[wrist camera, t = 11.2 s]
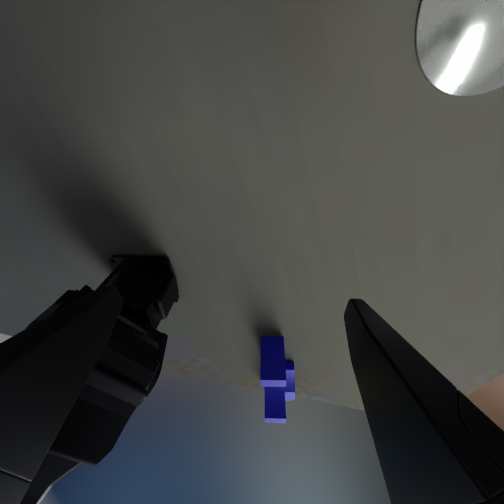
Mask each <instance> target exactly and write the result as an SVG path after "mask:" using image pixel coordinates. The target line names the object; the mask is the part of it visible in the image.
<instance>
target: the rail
mask: <svg viewBox="0 0 504 504" xmlns="http://www.w3.org/2000/svg"><path fill="white" fill-rule="evenodd" d="M415 45H416V54H417V59H418V62H419V66H420V68H421V70H422V73H423V74H424V76H425V77H426V79H427V80H428V82H429V83H430V84H431V85H433V86H434V87H435V88H437V89H438V90H440V91H442V92H444V93H447V94H450V95H455V96H470V95H478V94H482V93H486V92H489V91H492V90H494V89H497V88H499V87H501V86H503V85H504V0H421V3H420V7H419V12H418V16H417V23H416V32H415Z"/></svg>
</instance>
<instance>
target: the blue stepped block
mask: <svg viewBox="0 0 504 504" xmlns="http://www.w3.org/2000/svg"><path fill="white" fill-rule="evenodd" d="M260 381H261V386H263V387H265V422H266V423H286V410H285V400H292V401H294V399H295V383H294V361H285V353H284V338H283V337H261V374H260Z"/></svg>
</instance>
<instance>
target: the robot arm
mask: <svg viewBox="0 0 504 504" xmlns="http://www.w3.org/2000/svg"><path fill="white" fill-rule="evenodd" d="M113 259H114V260H113ZM108 260H109V263H110V265H111V267H112V269H113V272H112V273H111V274H110V275H109V276H108V277H107V278H106V279H105V280H104V281H103V282H102V284H101V285H100V286H99V287H98V288H97V289H96V290H95V291H93V290H92V289H91V288H90V287H89V286H87V285H85V286H84V287H83V288H82V289H81V290H80V291H79V290H76V291H73V290H68V291H66V292H65V293H64V294H63V295H62V296H61V297H60V298H59V299H58V300H57V301H56V302H55V303H54V304H53V305H51V306H50V307H49V308H48V309H47V310H46V311H44V312H43V313H42V314H41V315H40V316H38V317H37V318H36V319H35V320H34V321H33V322H32V323H30V324H29V325H28V326H27V327H26V328H25V330H23V331H22V332H20V333H18V334H16V335H15V336H13V337H11V338H9V339H7V340H6V341H4V342H2V343H0V504H40V502H41V501H42V499H43V498H44V496H45V495H46V494H47V492H48V491H49V489H50V488H51V487H52V485H53V484H54V483H55V482H56V481H58V480H59V479H61V478H62V477H63V476H65V475H66V474H68V473H69V472H70V471H72V470H73V469H74V468H76V467H77V466H78V465H80V464H81V463H83V464H87V465H91V466H95V465H96V464H97V463H99V462H100V461H101V460H102V459H103V458H104V457H105V456H106V455H107V454H108V453H109V452H110V451H111V450H112V448H113V447H114V445H115V443H116V441H117V439H118V437H119V436H120V434H121V432H122V430H123V428H124V426H125V425H126V423H127V421H128V420H129V418H130V416H131V415H132V413H133V412H134V410H135V409H136V407H137V406H138V405H140V404H141V403H142V402H143V401H144V400H145V399H146V397H147V396H148V395H149V393H150V392H151V390H152V389H153V387H154V385H155V383H156V381H157V379H158V377H159V374H160V371H161V367H162V363H163V358H164V353H165V348H166V343H167V338H168V335H166V334H165V333H161V332H159V331H158V330H156V329H157V327H158V325H159V323H160V321H161V319H165V318H166V317H167V315H168V313H169V311H170V309H171V307H172V305H173V303H174V302H177V301H178V299H179V295H178V292H179V290H178V287H177V283H176V279H175V276H174V274H173V273H172V269H171V265H170V261H169V259H168V258H167V257H164V256H126V255H112V256H111V257H110V258H109V259H108ZM163 261H165V262H163ZM344 321H345V327H346V333H347V339H348V346H349V352H350V357H351V362H352V366H353V369H354V373H355V376H356V380H357V384H358V387H359V391H360V394H361V398H362V401H363V405H364V408H365V412H366V416H367V419H368V422H369V426H370V430H371V433H372V437H373V440H374V444H375V448H376V451H377V455H378V458H379V462H380V465H381V469H382V473H383V476H384V480H385V483H386V487H387V490H388V494H389V497H390V501H391V504H504V431H503V430H502V429H501V428H500V427H498V426H497V425H496V424H495V423H494V422H493V421H492V420H491V419H490V418H489V417H488V416H486V415H485V414H484V413H483V412H482V411H481V410H480V409H479V408H478V407H477V406H475V405H474V404H473V403H472V402H471V401H470V400H469V399H468V398H467V397H466V396H465V395H464V394H463V393H462V392H460V391H459V390H457V388H456V387H455V386H454V385H453V384H452V383H451V382H450V381H449V380H448V379H446V378H445V377H444V376H443V375H442V374H441V373H440V372H439V371H438V370H437V369H436V368H435V367H434V366H433V365H432V364H431V363H429V362H428V361H427V360H426V359H425V358H424V357H423V356H422V355H421V354H420V353H419V352H418V351H417V350H416V349H415V348H413V347H412V346H411V345H410V344H409V343H408V342H407V341H406V340H405V339H404V338H403V337H402V336H401V335H400V334H399V333H398V332H396V331H395V330H394V329H393V328H392V327H391V326H390V325H389V324H388V323H387V322H386V321H385V320H384V319H383V318H382V317H380V316H379V315H378V314H377V313H376V312H375V311H374V310H373V309H372V308H371V307H370V306H369V305H368V304H367V303H366V302H365V301H363V300H362V299H350V300H349V301H348V304H347V307H346V310H345V313H344Z"/></svg>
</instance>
